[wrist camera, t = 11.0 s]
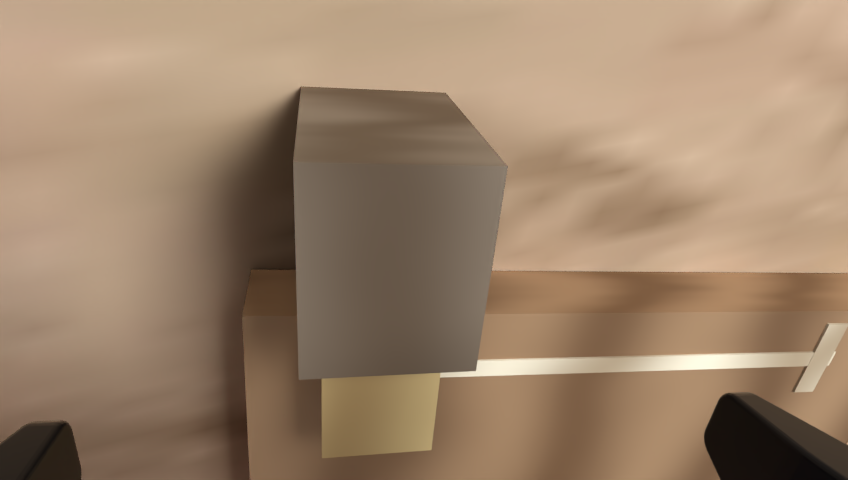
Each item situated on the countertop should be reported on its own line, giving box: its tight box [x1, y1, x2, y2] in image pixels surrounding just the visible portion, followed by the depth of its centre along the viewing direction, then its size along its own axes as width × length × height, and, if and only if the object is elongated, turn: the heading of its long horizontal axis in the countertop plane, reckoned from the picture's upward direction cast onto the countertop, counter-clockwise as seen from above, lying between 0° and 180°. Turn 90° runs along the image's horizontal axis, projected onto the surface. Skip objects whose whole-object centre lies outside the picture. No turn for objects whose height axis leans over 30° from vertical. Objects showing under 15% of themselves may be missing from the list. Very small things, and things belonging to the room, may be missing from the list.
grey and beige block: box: [293, 87, 508, 458], centre depth 15 cm, size 4×9×6 cm, turn 175°
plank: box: [242, 269, 848, 480], centre depth 21 cm, size 23×10×3 cm, turn 84°
